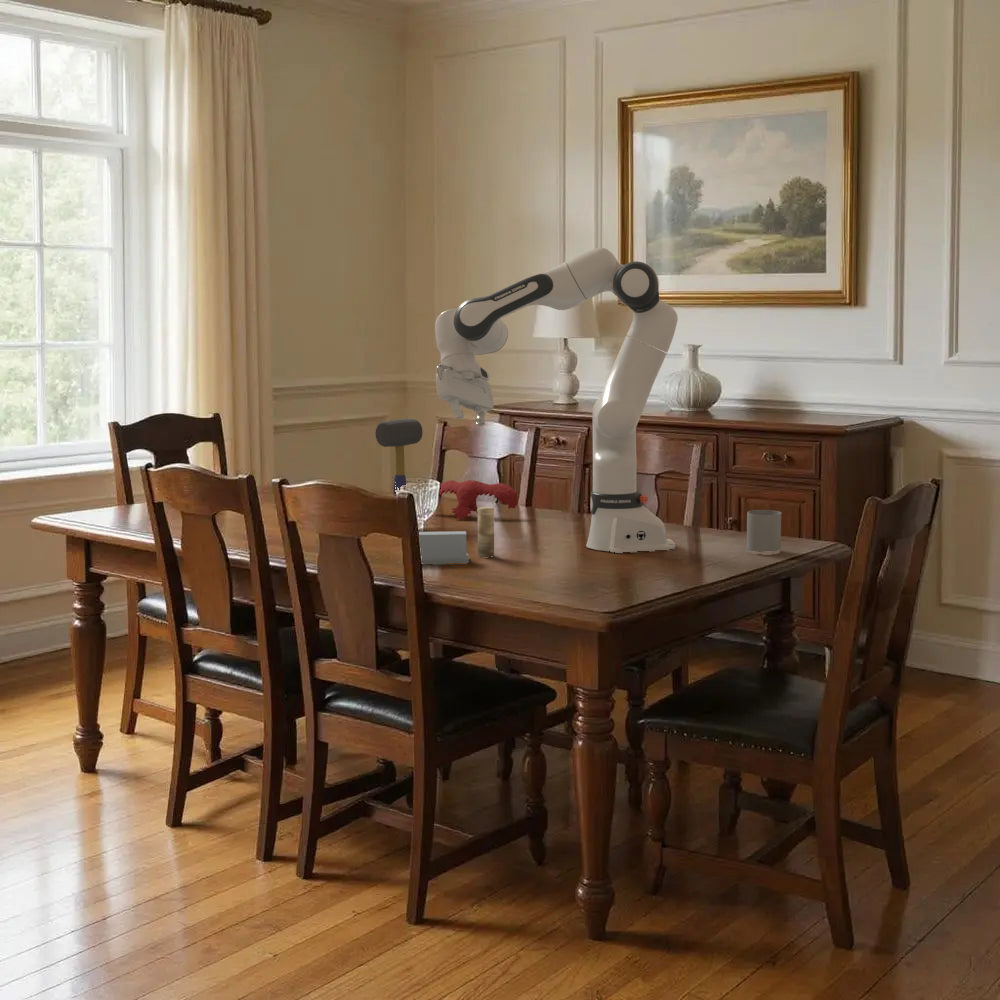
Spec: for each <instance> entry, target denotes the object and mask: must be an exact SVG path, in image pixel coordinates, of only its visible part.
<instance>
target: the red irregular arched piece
mask: <svg viewBox="0 0 1000 1000" xmlns="http://www.w3.org/2000/svg"><path fill="white" fill-rule="evenodd" d="M440 484H441V489H440V494H439V496H442V495H443V494H448V493H449V494H455V496H456V500H457V505H456V506H455V507H454V508H451V513H452V514H453V516H455V519H456V520H458V519H461V520H462V519H463V520H467V519H466V517H468V516H469V515H472V512H476V514H477V515H476V516H478V505H477V498H479V496H483V495H484V496H487V495H488V497H492V496H494V499H497V498H498V502H500V503H502V502H503V504H504V505H508V509H516V506H517V505H518V494H517V493H518V492H517V491H516V490H515V489H514V488H513V487H512V486H510V485H509V484H506V483H503V482H499V483H498V482H497V483H492V484H491V483H489V484H488V483H485V482H482V481H478V480H471V479H470V480H465V481H461V482H458V481H456V480H447V481H443V482H442V483H440Z"/></svg>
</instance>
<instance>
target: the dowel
mask: <svg viewBox="0 0 1000 1000" xmlns="http://www.w3.org/2000/svg"><path fill="white" fill-rule="evenodd" d="M477 512H478V515H477V557H478V556H480V557H479V558H481V557H491V556H494V557H495V508H494V507H493V506H480V507H477ZM491 558H492V557H491Z"/></svg>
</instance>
